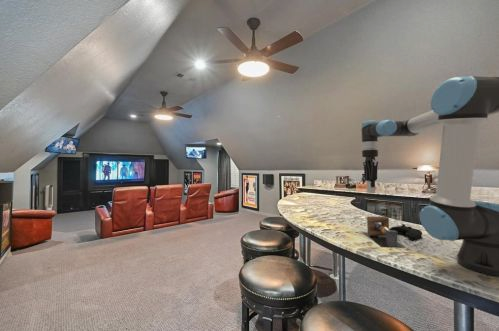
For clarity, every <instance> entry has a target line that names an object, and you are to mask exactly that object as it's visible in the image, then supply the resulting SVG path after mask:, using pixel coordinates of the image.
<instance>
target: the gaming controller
mask: <svg viewBox="0 0 499 331" xmlns="http://www.w3.org/2000/svg"><path fill="white" fill-rule="evenodd" d="M389 228H390V230H394V231H397V234H399V233H400V234H401V233H402V234H408V240H409V241H416V240H417V239H421V238H423V231H422V230H420V229H418V228H413V227H412V226H408V225H407V226H406V224H402V225H396V226H392V227H389Z"/></svg>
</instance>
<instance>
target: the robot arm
mask: <svg viewBox="0 0 499 331" xmlns="http://www.w3.org/2000/svg"><path fill="white" fill-rule="evenodd" d="M430 107H431V110H429V111H427V112H424V113H422V114H420V115H417V116H415V117H412V118H410V119H409V118H408V119H406V120H401V121H400V120H397V121H396V120H392V119H383V120H381V121H377V120H367V121H366V120H365V121H363V122H362V123H361V149H362V151H361V153H362V154H361V155H362V156H361V157H362V158H365V159H364V160H365V161H363V163H362V164H363V172H364V173H363V174H364V180H365V181H366V193H368V194H376V181H377V180H378V165H379V161H376V157H379V149H378V146H379V143H378V142H379V140H378V138H381V137H416V136H418V135H419V134H420V133H422V132H426V131H428V130H431V129H436V128H439V127H441V126H442V133H441V135H442V136H441V144H440V145H441V146H440V153H439V162H438V172H437V173H438V174H437V182H436V191H435V194H434V195H432V196H431V197H429V205H425V206H424V207H423V208H421V210H420V212H419V220H420V223H421V226H422V227H423V228H424V230H425V232H426V233H427V234H428V235H429V236H431V237H432V238H434V239H437V240H440V241H448V242H449V241H450V242H452V241H458V240H460V241H461V240H462V243H461V246H460V248H459V249H458V252H457V254H456V262H457V263H458V264H459V265H460V266H462V267H464V268H466V269H469V270H471V271H474V272H478V273H480V272H481V273H480V274H484V273H485V275H488V274H490V276H493V275H494V276H493V277H499V203H496V202H488V201H487V202H486V201H479V200H473V199H471V196H472V195H471V193H472V186H473V178H474V171H475V164H476V163H475V161H476V155H477V147H478V140H479V130H480V126H481V124H483V123H484V122H485V121H487V120H488V116H490V115H494V114H496V113H497V114H498V113H499V76H474V75H473V76H472V75H464V76H455V77H450V78H448V79H446V80H445V81H443V82H442V83H441V84H440V85H439V86H438V87H437V88H435V90H434V92H433V93H432V95H431V98H430Z"/></svg>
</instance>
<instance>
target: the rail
mask: <svg viewBox="0 0 499 331" xmlns="http://www.w3.org/2000/svg"><path fill="white" fill-rule="evenodd" d="M390 228H391V227H389V228H388V227H386V226H383V225H381V223H380V222H375V229H378V230H380V231H381V232H382V233H383V234H385V235H386V236H370V235H369V234H368V231H363V232H362V233H363V234H364V235H365V236H366V237H368V238H369V239H370V240H372V241H373V242H374V243H375V244H377V245H378V246H380V248H405V249H406V246H404V245H403V244H401V243H400V242H399V241H398V233H397V231H394V230H390Z"/></svg>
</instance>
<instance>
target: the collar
mask: <svg viewBox="0 0 499 331" xmlns="http://www.w3.org/2000/svg"><path fill="white" fill-rule="evenodd" d="M366 219H367V221H366V223H367V226H366V227H367V232H368V234H369V235H370V236H386V235H385V234H383V233H382V232H381V231H380V230H378V229H375V222H378V223H380V224H381V225H383V226H386V227H388V228H390V218H389V217H388V216H374V215H373V216H367V218H366Z"/></svg>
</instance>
